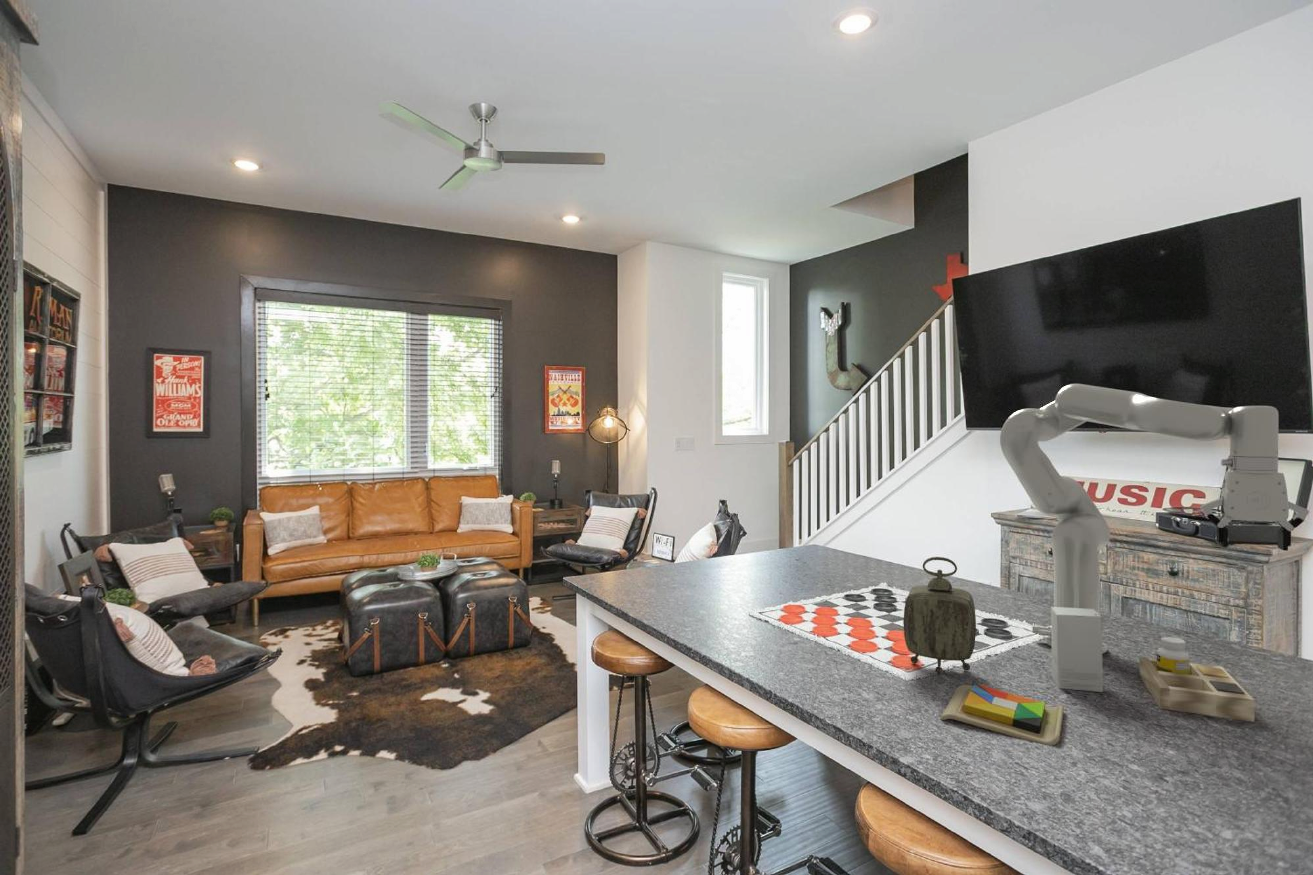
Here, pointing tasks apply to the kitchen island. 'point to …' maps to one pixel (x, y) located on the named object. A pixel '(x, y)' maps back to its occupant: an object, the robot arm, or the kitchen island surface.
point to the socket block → (1198, 691)
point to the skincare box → (1077, 649)
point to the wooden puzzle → (1005, 713)
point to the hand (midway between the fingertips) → (1252, 547)
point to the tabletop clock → (940, 620)
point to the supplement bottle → (1173, 656)
